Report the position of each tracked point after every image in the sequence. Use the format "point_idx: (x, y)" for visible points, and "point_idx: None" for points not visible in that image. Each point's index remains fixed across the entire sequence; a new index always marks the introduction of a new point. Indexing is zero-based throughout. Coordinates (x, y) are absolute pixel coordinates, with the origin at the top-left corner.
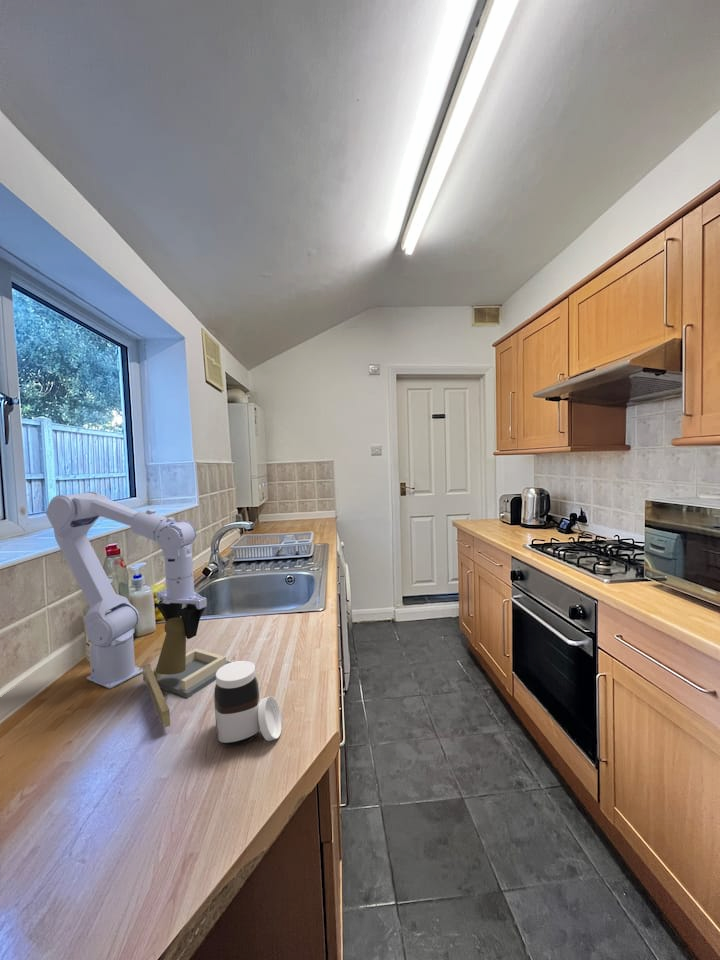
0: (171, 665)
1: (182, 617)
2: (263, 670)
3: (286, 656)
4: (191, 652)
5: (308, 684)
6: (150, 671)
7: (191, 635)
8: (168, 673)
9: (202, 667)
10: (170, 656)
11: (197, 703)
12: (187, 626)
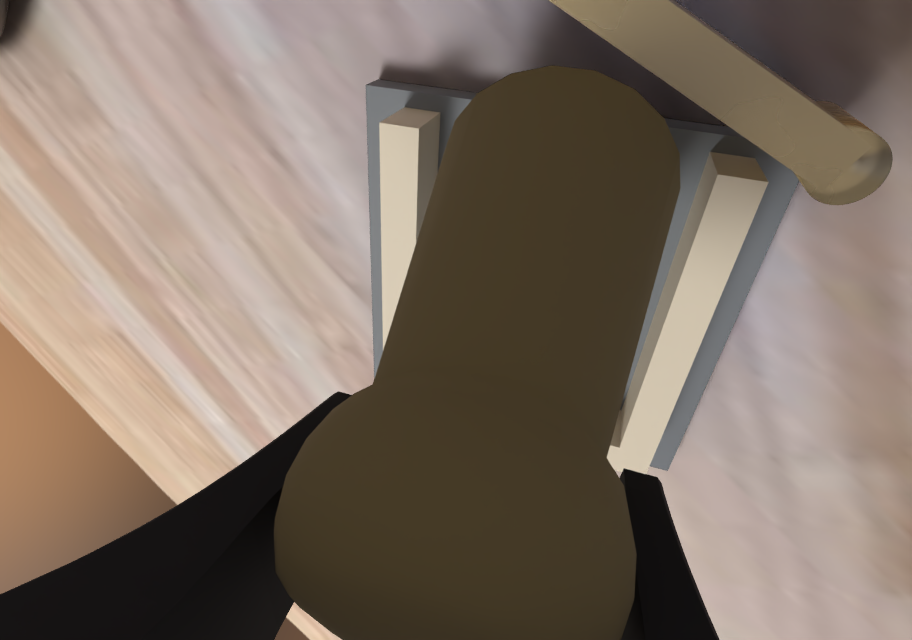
0: (456, 147)
1: (122, 627)
2: (254, 374)
3: None
4: (635, 434)
5: (48, 315)
6: (717, 95)
7: None
8: (476, 97)
9: None
10: (457, 190)
11: (285, 54)
12: (204, 490)
